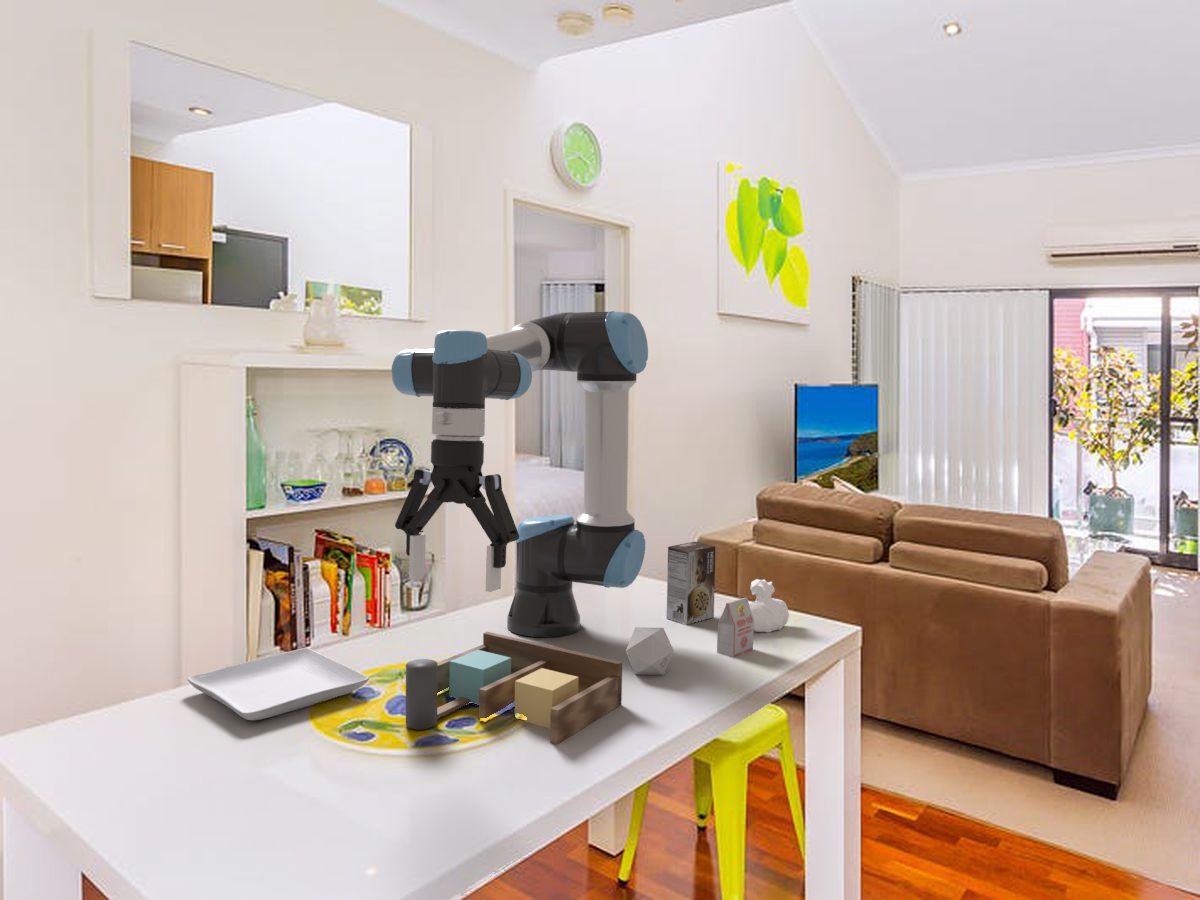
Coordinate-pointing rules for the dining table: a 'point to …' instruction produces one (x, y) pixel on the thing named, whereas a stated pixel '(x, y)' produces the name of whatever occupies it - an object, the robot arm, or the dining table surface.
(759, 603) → the bust
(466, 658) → the block
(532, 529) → the robot arm
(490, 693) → the lane rack
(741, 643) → the white gable top carton
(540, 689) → the block
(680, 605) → the food box
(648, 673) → the die
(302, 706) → the salad plate
